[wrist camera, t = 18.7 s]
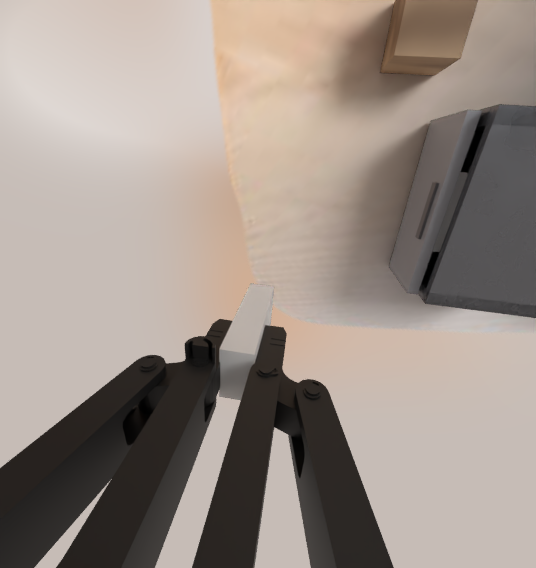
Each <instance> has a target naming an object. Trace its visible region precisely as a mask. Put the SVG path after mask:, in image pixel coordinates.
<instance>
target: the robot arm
mask: <svg viewBox="0 0 536 568" xmlns="http://www.w3.org/2000/svg"><path fill="white" fill-rule="evenodd" d="M273 293H274V286H267V285H260V284H250V286H249V288H248V291H247V292H246V294H245V296H244V298H243V301H242V303H241V305H240V307H239V309H238V311H237V313H236V315H235V317H234V319H233V321H230V320H223V319H219V320H218V321H216V322H215V323H213V325H212V326H211V328H210V330H209V331H208V333H207V335H206V336H205V337H204V336H198V337H194V338H191V339H189V340H188V341H187V342H186V343H185V354H186V359H185V361H183V362H178V363H169V364H166V363H165V360H164V358H162V357H161V356H157V355H148V356H145V357H142V358H140V359H138V360H137V361H135V362H134V363H133V364H131V365H130V366H129V367H128V368H126V369H125V370H124V371H123V372H121V373H120V374H119V375H118V376H116V377H115V378H114V379H113V380H111V381H110V382H109V383H107V384H106V385H105V386H104V387H102V388H101V389H100V390H99V391H97V392H96V393H95V394H94V395H92V396H91V397H90V398H89V399H87V400H86V401H85V402H83V403H82V404H81V405H80V406H78V407H77V408H76V409H75V410H73V411H72V412H71V413H69V414H68V415H67V416H66V417H64V418H63V419H62V420H61V421H59V422H58V423H57V424H56V425H54V426H53V427H52V428H50V429H49V430H48V431H47V432H45V433H44V434H43V435H42V436H40V437H39V438H38V439H37V440H35V441H34V442H33V443H32V444H30V445H29V446H28V447H26V448H25V449H24V450H23V451H22V452H20V453H19V454H18V455H17V456H15V457H14V458H12V459H11V460H10V461H9V462H7V463H6V464H5V465H4V466H2V467H1V468H0V568H34V567H35V566H36V565H37V564H38V562H39V561H40V560H41V559H42V558H43V557H44V556H45V555H46V553H47V552H48V551H49V550H50V549H51V548H52V546H53V545H54V544H55V543H56V542H57V541H58V540H59V538H60V537H61V536H62V535H63V534H64V533H65V532H66V530H67V529H68V528H69V527H70V526H71V525H72V524H73V522H74V521H75V520H76V519H77V518H78V517H79V516H80V514H81V513H82V512H83V511H84V510H85V508H87V506H88V505H89V504H90V503H91V502H92V501H93V499H94V498H95V497H96V496H97V494H99V493H100V491H101V490H102V489H103V488H104V487H105V486H106V485H107V483H108V482H109V481H110V480H111V479H112V480H111V481H110V483H109V484H108V486H107V487H106V489H105V491H104V492H103V494H102V496H101V497H100V499H99V501H98V502H97V504H96V505H95V507H94V509H93V510H92V512H91V513H90V515H89V517H88V518H87V520H86V522H85V523H84V525H83V526H82V528H81V530H80V532H79V533H78V535H77V536H76V538H75V539H74V541H73V543H72V544H71V546H70V548H69V549H68V551H67V553H66V554H65V556H64V557H63V559H62V560H61V562H60V563H59V564H58V566H57V567H56V568H155V565H156V562H157V560H158V558H159V555H160V552H161V550H162V547H163V544H164V542H165V539H166V536H167V534H168V531H169V529H170V526H171V523H172V521H173V518H174V515H175V513H176V510H177V507H178V505H179V502H180V499H181V497H182V494H183V492H184V489H185V486H186V484H187V481H188V478H189V476H190V473H191V470H192V468H193V465H194V462H195V460H196V457H197V455H198V452H199V449H200V447H201V444H202V441H203V439H204V436H205V433H206V431H207V428H208V426H209V423H210V420H211V418H212V415H213V412H214V410H215V407H216V396H217V394H218V391H219V390H220V391H219V396H220V397H225V398H231V399H237V400H241V402H240V406H239V409H238V412H237V416H236V419H235V422H234V426H233V429H232V433H231V436H230V439H229V443H228V446H227V450H226V453H225V457H224V460H223V463H222V467H221V471H220V474H219V477H218V481H217V484H216V487H215V491H214V495H213V498H212V501H211V505H210V508H209V511H208V515H207V518H206V522H205V525H204V529H203V533H202V535H201V539H200V542H199V546H198V549H197V553H196V556H195V560H194V563H193V566H192V568H254V566H255V559H256V552H257V545H258V538H259V531H260V524H261V517H262V510H263V502H264V495H265V488H266V481H267V474H268V467H269V460H270V453H271V445H272V438H273V430H274V427H275V428H277V429H279V430H281V431H283V432H285V433H286V434H288V435H289V443H290V449H291V454H292V460H293V466H294V472H295V478H296V484H297V489H298V495H299V501H300V507H301V512H302V519H303V524H304V529H305V536H306V542H307V547H308V554H309V559H310V565H311V568H394V567H393V565H392V562H391V559H390V557H389V554H388V552H387V549H386V546H385V543H384V541H383V538H382V535H381V532H380V529H379V527H378V524H377V521H376V519H375V516H374V513H373V511H372V508H371V505H370V503H369V500H368V497H367V494H366V492H365V489H364V486H363V484H362V481H361V478H360V475H359V473H358V470H357V467H356V465H355V462H354V459H353V457H352V454H351V451H350V448H349V446H348V443H347V440H346V438H345V435H344V432H343V429H342V427H341V425H340V421H339V419H338V416H337V413H336V411H335V408H334V405H333V402H332V400H331V397H330V394H329V392H328V390H327V388H326V387H325V386H324V385H323V384H322V383H320V382H318V381H315V380H310V379H307V380H302V381H301V382H299V383H297V382H294V381H292V380H290V379H289V378H288V377H287V376H286V375H285V374H284V373H283V370H282V365H283V357H284V350H285V342H286V332H285V330H284V328H283V327H276V326H270V324H271V314H272V304H273Z"/></svg>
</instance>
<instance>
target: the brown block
mask: <svg viewBox="0 0 536 568" xmlns="http://www.w3.org/2000/svg"><path fill="white" fill-rule="evenodd" d="M477 2H478V0H396V1H395V2H394V7H393V12H392V17H391V22H390V27H389V32H388V36H387V41H386V46H385V51H384V56H383V61H382V66H381V71H380V73H398V74H418V75H436V74H437V73H439V72H440V71H442V70H443V69H445V68H446V67H448V66H450V65H451V64H453V63H454V62H456V61H457V60H459V59H460V58H461V55H462V51H463V48H464V45H465V41H466V38H467V35H468V31H469V28H470V25H471V22H472V18H473V15H474V12H475V8H476V5H477Z"/></svg>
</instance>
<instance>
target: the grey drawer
mask: <svg viewBox="0 0 536 568" xmlns="http://www.w3.org/2000/svg"><path fill="white" fill-rule="evenodd" d="M481 112H482V111H479V110H466V111H462V112H459V113H456V114H452V115H449V116H445V117H442V118H439V119H435V120H432V121H430V125H429V128H428V132H427V135H426V139H425V142H424V146H423V149H422V153H421V156H420V160H419V163H418V167H417V170H416V174H415V177H414V181H413V184H412V188H411V191H410V195H409V198H408V202H407V205H406V208H405V212H404V215H403V219H402V222H401V226H400V229H399V233H398V236H397V240H396V243H395V247H394V250H393V254H392V257H391V261H390V264H389V268H390V269H391V271H392V272H393V274H394V275H395V276H396V278H397V279H398V281H399V282H400V284H401V285H402V286H403V288H404V289H405V291H406V292H407V293H412V294H418V291H419V288H420V285H421V282H422V280H423V277H424V274H425V271H426V268H427V265H428V263H429V260H430V257H431V254H432V251H433V252H440V250H441V247H442V244H443V241H444V239H445V236H446V233H447V230H448V228H449V225H450V222H451V219H452V217H453V214H454V211H455V208H456V206H457V203H458V200H459V198H460V195H461V192H462V189H463V187H464V184H465V181H466V178H467V176H468V173H466V172H461V169H462V166H463V163H464V161H465V158H466V155H467V152H468V149H469V146H470V144H471V141H472V138H473V135H474V132H475V129H476V127H477V124H478V121H479V118H480V115H481Z"/></svg>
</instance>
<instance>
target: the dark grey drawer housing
mask: <svg viewBox="0 0 536 568" xmlns="http://www.w3.org/2000/svg"><path fill="white" fill-rule="evenodd" d="M479 111H482V112H481V115H480V118H479V121H478V124H477V127H476V129H475V132H474V135H473V138H472V141H471V144H470V146H469V149H468V152H467V155H466V158H465V161H464V163H463V166H462V169H461V172H466V173H468V176H467V178H466V181H465V184H464V187H463V189H462V192H461V195H460V198H459V200H458V203H457V206H456V208H455V211H454V214H453V217H452V219H451V222H450V225H449V228H448V230H447V233H446V236H445V239H444V241H443V244H442V247H441V250H440V252H433V251H432V254H431V257H430V260H429V263H428V265H427V268H426V271H425V274H424V277H423V280H422V282H421V285H420V288H419V291H418V295H419V296H420V297H421V299H422V300H423V301H424V303H425V304H432V305H440V306H448V307H455V308H463V309H471V310H478V311H486V312H494V313H501V314H509V315H517V316H525V317H532V318H536V107H535V106H518V105H502V104H499V105H496V106H492V107H488V108H485V109H481V110H479Z"/></svg>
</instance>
